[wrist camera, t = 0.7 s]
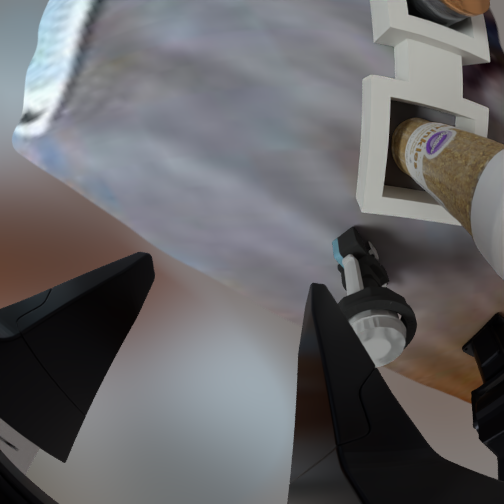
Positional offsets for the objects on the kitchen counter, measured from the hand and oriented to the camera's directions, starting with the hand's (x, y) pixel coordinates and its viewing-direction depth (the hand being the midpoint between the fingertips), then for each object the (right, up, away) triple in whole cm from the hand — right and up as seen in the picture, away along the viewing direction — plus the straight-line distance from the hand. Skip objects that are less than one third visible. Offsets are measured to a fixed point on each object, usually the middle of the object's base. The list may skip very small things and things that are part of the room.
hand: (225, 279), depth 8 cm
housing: (+12, +13, +5) cm, 18 cm away
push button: (+10, 0, +13) cm, 16 cm away
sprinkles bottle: (+13, +8, +8) cm, 17 cm away
